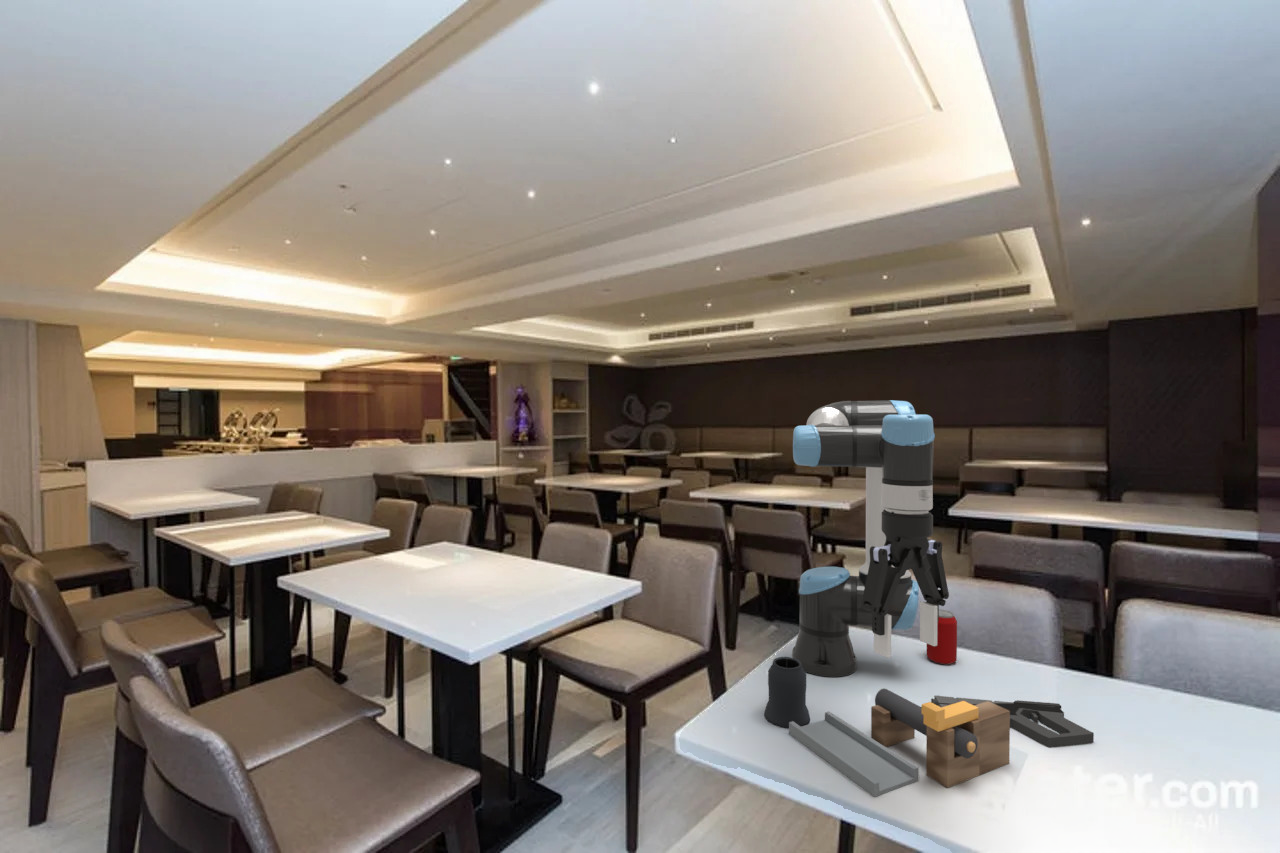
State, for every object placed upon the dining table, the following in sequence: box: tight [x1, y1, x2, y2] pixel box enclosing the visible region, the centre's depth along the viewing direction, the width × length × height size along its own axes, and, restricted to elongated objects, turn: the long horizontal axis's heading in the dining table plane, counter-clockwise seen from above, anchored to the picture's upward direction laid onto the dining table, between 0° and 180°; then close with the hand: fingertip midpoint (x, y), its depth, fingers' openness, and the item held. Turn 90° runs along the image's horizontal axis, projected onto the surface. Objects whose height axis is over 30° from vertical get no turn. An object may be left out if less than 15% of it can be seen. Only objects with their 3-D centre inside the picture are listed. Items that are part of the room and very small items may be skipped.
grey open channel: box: [788, 710, 919, 797], centre depth 106 cm, size 21×10×2 cm, turn 25°
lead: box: [874, 688, 978, 758], centre depth 106 cm, size 19×4×4 cm, turn 25°
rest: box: [870, 705, 916, 748], centre depth 112 cm, size 3×8×6 cm, turn 115°
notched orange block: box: [921, 701, 979, 732], centre depth 100 cm, size 3×10×3 cm, turn 115°
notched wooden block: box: [925, 701, 1011, 789], centre depth 102 cm, size 4×16×9 cm, turn 115°
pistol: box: [930, 695, 1095, 749], centre depth 117 cm, size 2×26×15 cm
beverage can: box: [926, 608, 958, 665], centre depth 147 cm, size 7×7×12 cm
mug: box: [763, 656, 811, 730], centre depth 121 cm, size 12×9×11 cm
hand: (905, 648), depth 95 cm, fingers open, 10 cm apart
